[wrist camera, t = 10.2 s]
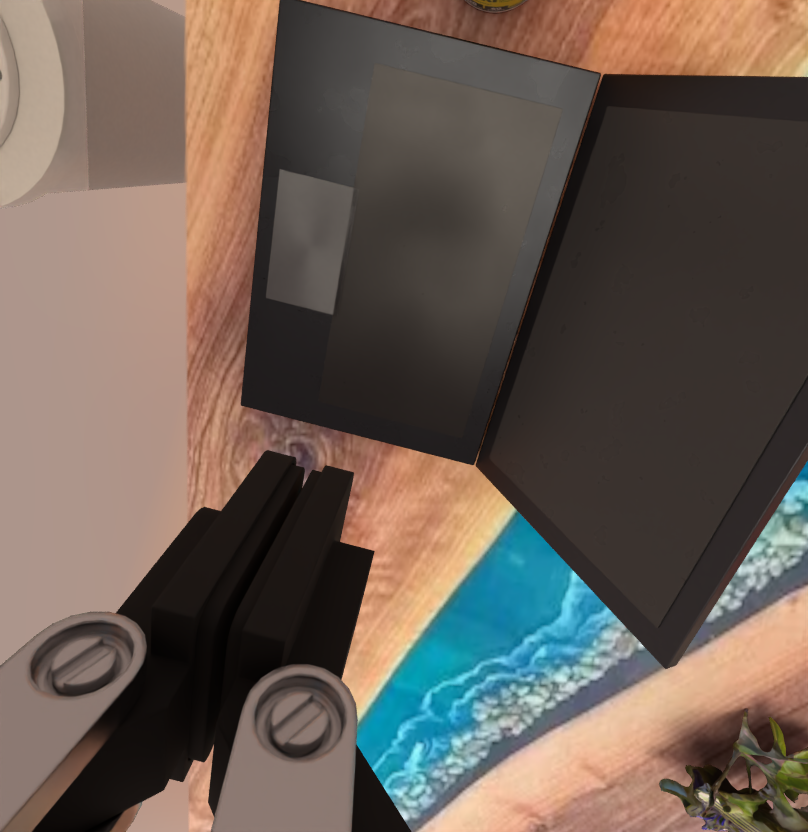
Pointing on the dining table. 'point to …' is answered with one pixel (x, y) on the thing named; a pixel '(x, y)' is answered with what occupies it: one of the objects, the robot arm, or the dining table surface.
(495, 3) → the supplement bottle
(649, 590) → the laptop screen
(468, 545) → the dining table surface
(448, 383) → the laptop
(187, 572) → the robot arm
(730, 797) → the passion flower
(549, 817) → the dining table surface
